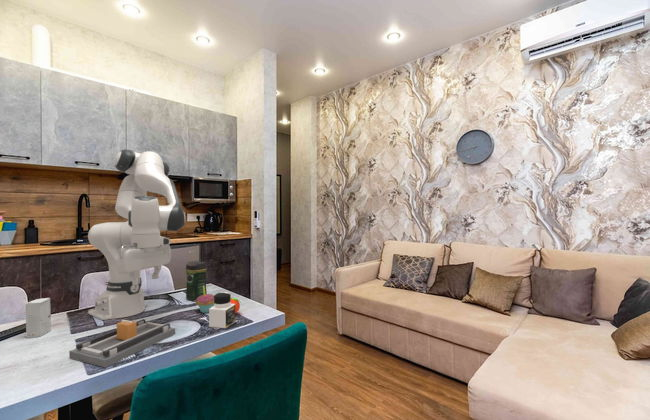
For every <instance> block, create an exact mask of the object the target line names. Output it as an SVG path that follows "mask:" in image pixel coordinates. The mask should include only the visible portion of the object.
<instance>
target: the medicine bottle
mask: <svg viewBox="0 0 650 420" xmlns="http://www.w3.org/2000/svg"><path fill="white" fill-rule="evenodd" d="M213 295H214V306H213V307H211V308H210V309H209V312H208V317H209V319H208V320H209V321H208V324H209V325H208V327H210V328H216V329H217V328H218V329H227V328H228V327H230V326H231V325H233V324H234V323H235V322H236V314H235V304H230V303H231V298H232V296H231V293H230V292H227V291H221V292H218V293H216V294H213Z"/></svg>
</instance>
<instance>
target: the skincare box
mask: <svg viewBox="0 0 650 420" xmlns="http://www.w3.org/2000/svg"><path fill="white" fill-rule="evenodd" d="M51 312H52V311H51V297H45V298H44V297H43V298H36V299H34V300H31V301H29V302H26V303H25V327H26V328H25V330H26V332H25V333H26V336H25V337H26V338H29V339H30V338H40V337H42V336H43V335H45V334H47V333H49V332H50V331H51V330H52V322H51V321H52V316H51V315H52V314H51Z"/></svg>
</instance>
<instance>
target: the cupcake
mask: <svg viewBox="0 0 650 420" xmlns="http://www.w3.org/2000/svg"><path fill="white" fill-rule="evenodd" d="M203 292H204V295H201V296H199V297H198V298H197V299H196V301H195V305H197V307H198V308H199V311H200V312H201V313H203V314H204V313H209V309H210V308H211V307H213V306H215V305H214V295H215V294H211V293H207V294H205V286H204V285H203Z"/></svg>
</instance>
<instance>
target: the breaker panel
mask: <svg viewBox="0 0 650 420" xmlns="http://www.w3.org/2000/svg"><path fill="white" fill-rule="evenodd" d="M163 325H164V324H162V323H155V322H151V321H147V322H146V323H144V321H142V322H139V323H138V326H137V327H136V329H137V335H136V336H134V337H132V338H129V339H127V340H121V339H117V334H116V335H114V336H111V337H109V338H106V339H104V340H101V341H99V342H96V343H94V344H91V345H90V342H87V343H85V344H82V348H81V349H76V348H74V349H72V350H69V356H68V357H69V359H73V360H75V361H80V362H83V363H87V364H90V365H94V366H98V367H102V368H107V367H110V366H112V365H114V364H115V363H116V364H117V363H118V362H119V361H122V360H124V359H126V358H129V357H130V355H131V356H133V355H135V354H137V353H139V352H140V351H143V350H145V349H148V348H149V347H151V346H153V345H155V344H157V343H160V342H161V341H163V340H165V339H167V338H170V337H172V336H174V335H175V334H176V328H175V327H171V326H170V328H168V325H167V326H165V327H163V331H161V332H159V333H156V334H154V335H152V336H150V337H148V338H145V339H143V340H141V341H139V342H136V343H134V344H132V345H130V346H128V347H125V348H123V349H121V350H119V351H117V348H115V349H113V350H110V351H109V355H108V356H103V351H105V350H107V349H110V348H112V347H114V346H117V345H119V344H121V343H124V342H126V341H128V340H131V339H133V338H135V337H138V336H140V335H142V334H144V333H147V332H149V331H151V330H154V329H156V328H158V327H161V326H163ZM85 341H86V340H85ZM85 341H83V342H85ZM80 343H81V342H79V343H78V344H80ZM128 356H129V357H128ZM123 358H124V359H123ZM121 359H122V360H121ZM113 363H114V364H113ZM111 364H112V365H111ZM109 365H110V366H109Z"/></svg>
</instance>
